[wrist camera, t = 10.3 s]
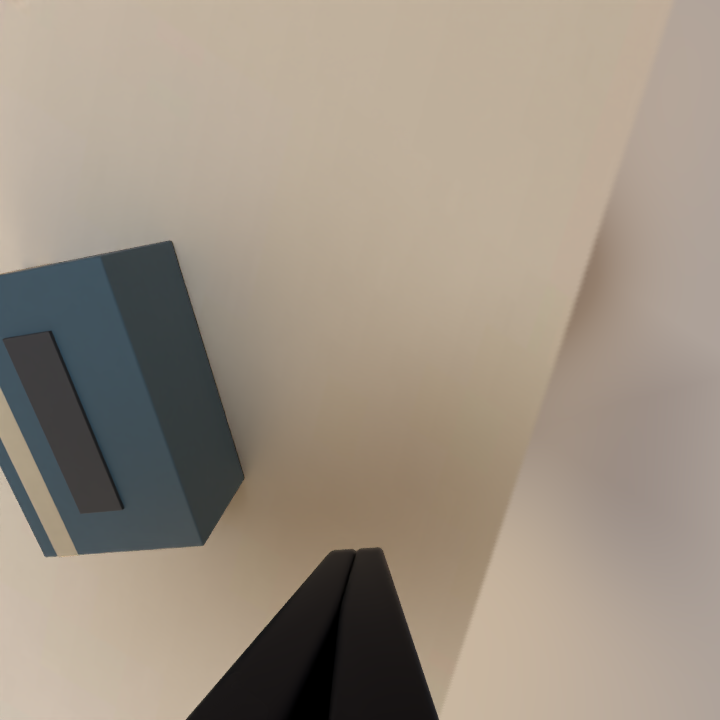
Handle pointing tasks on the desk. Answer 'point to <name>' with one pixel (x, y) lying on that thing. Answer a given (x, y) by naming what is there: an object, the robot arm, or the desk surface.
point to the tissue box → (111, 406)
